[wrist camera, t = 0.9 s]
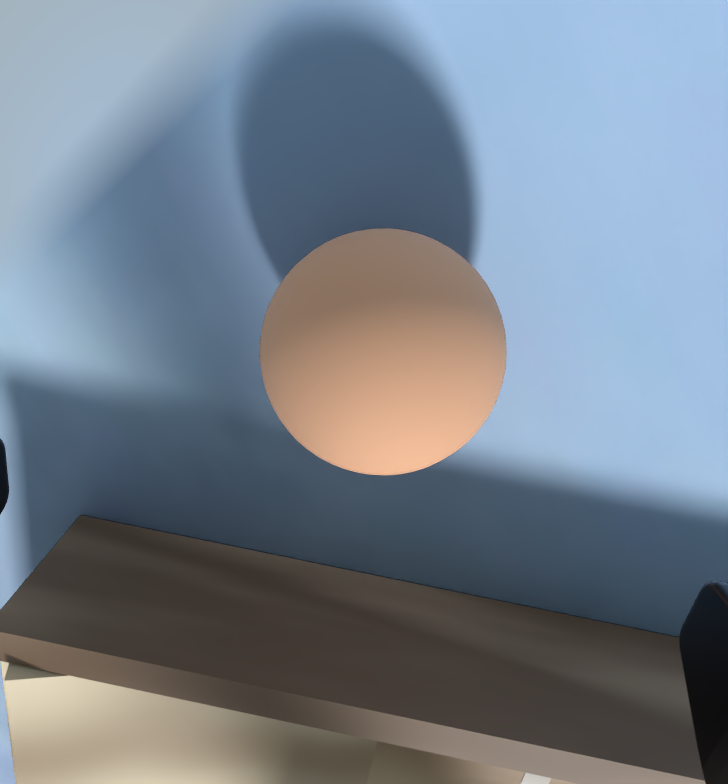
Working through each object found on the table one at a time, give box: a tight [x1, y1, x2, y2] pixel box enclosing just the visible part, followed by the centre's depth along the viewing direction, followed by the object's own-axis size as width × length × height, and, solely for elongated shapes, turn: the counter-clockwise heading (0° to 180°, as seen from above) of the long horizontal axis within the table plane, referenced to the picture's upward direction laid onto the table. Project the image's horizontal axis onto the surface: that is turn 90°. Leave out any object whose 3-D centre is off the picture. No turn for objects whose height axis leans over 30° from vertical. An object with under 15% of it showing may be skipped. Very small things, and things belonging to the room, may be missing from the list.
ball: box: [260, 228, 507, 475], centre depth 14 cm, size 5×5×5 cm
